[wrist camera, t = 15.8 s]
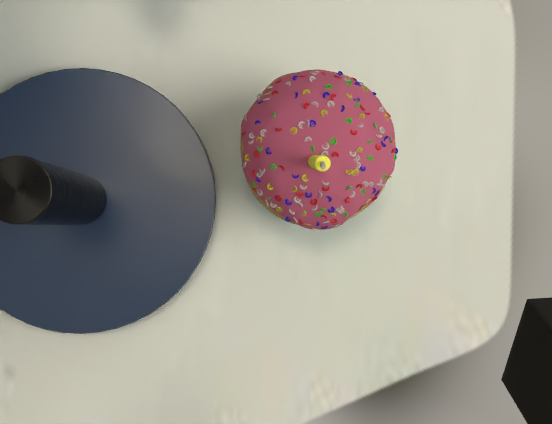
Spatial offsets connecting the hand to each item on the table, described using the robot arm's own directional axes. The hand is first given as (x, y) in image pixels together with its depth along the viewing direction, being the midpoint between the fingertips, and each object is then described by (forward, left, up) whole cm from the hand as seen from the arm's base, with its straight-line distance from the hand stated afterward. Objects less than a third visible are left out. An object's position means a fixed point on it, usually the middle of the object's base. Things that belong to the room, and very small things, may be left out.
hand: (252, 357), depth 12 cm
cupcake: (+1, +8, -19) cm, 21 cm away
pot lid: (-11, +1, -18) cm, 21 cm away
